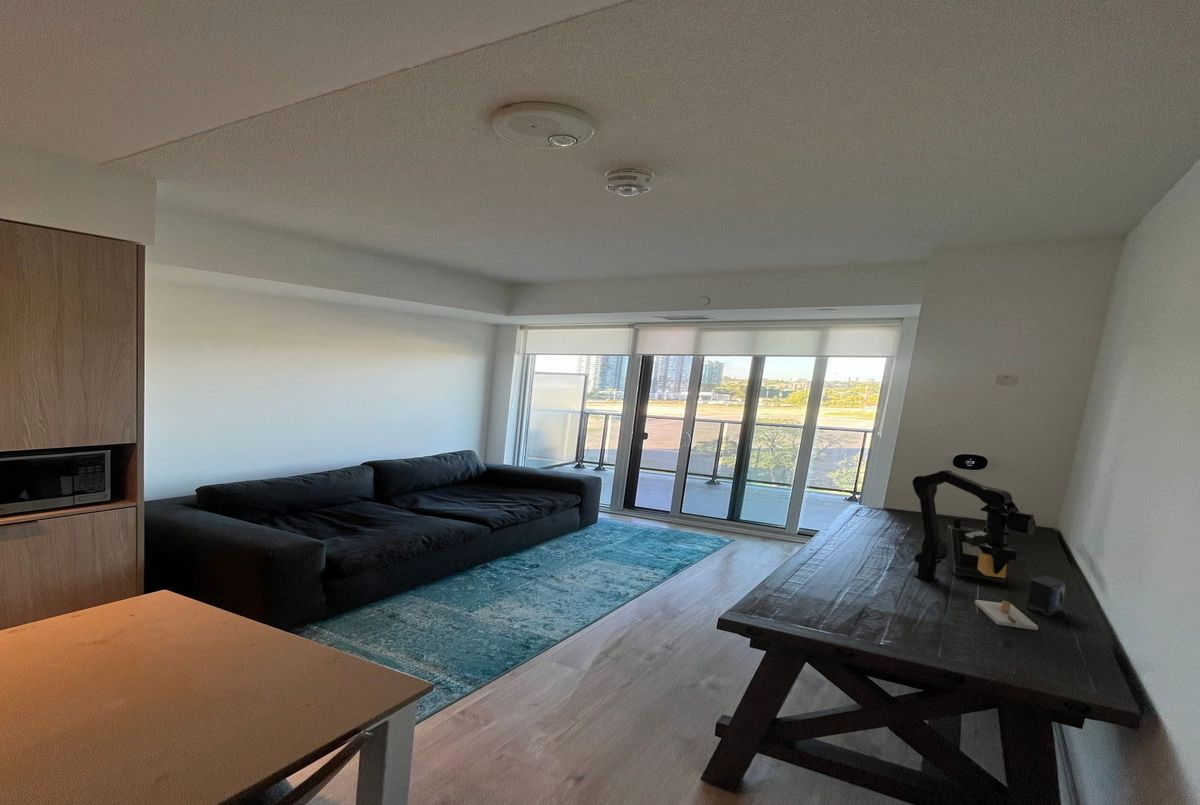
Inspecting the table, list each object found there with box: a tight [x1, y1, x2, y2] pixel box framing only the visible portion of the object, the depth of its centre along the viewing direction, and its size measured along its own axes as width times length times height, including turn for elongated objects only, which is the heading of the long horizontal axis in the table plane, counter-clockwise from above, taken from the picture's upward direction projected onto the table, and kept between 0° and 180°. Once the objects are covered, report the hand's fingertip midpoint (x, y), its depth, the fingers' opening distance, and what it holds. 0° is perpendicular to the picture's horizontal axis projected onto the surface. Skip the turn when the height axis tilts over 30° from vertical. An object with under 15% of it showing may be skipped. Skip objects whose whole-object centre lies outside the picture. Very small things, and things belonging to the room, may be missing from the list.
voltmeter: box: [944, 517, 1005, 583], centre depth 212 cm, size 16×16×20 cm
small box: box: [1025, 575, 1067, 617], centre depth 181 cm, size 11×6×10 cm, turn 117°
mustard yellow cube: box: [977, 553, 1008, 579], centre depth 185 cm, size 6×6×6 cm
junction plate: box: [974, 599, 1039, 631], centre depth 175 cm, size 16×11×5 cm, turn 166°
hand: (991, 570), depth 185 cm, fingers closed on mustard yellow cube, 6 cm apart
